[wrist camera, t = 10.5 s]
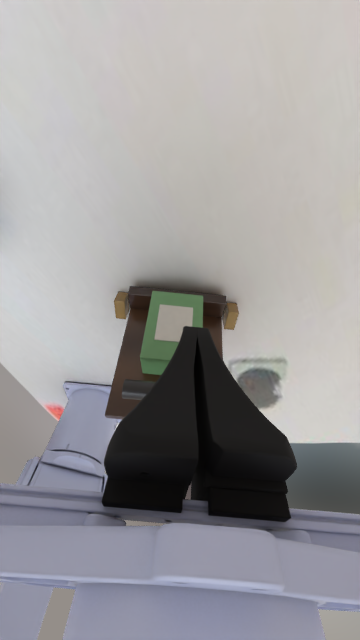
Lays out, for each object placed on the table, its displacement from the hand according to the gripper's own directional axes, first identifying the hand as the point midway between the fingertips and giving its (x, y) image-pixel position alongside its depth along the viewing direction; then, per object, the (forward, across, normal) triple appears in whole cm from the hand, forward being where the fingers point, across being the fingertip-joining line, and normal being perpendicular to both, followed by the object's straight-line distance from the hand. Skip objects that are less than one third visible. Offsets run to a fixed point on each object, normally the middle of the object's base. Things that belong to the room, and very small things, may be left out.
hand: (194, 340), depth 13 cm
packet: (+6, +1, +6) cm, 8 cm away
